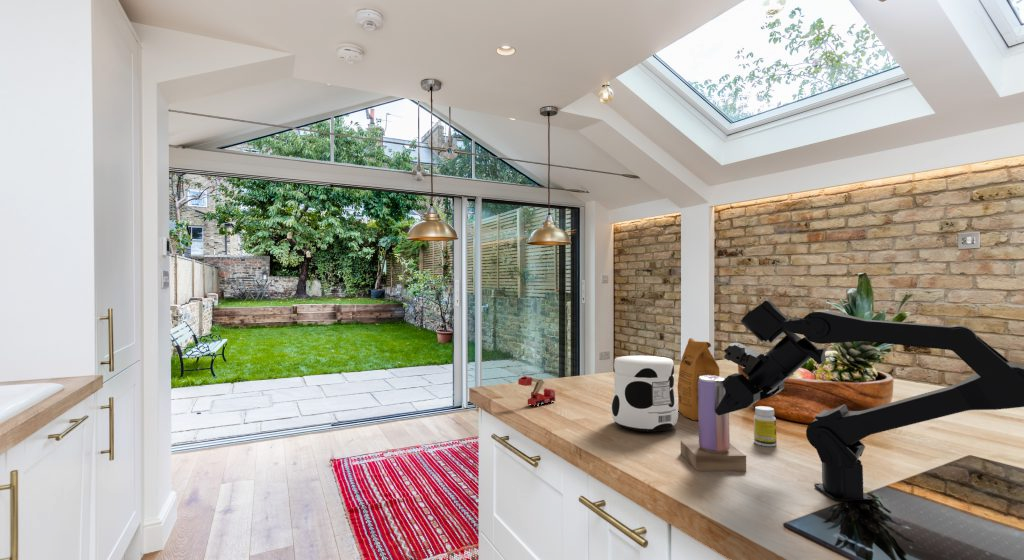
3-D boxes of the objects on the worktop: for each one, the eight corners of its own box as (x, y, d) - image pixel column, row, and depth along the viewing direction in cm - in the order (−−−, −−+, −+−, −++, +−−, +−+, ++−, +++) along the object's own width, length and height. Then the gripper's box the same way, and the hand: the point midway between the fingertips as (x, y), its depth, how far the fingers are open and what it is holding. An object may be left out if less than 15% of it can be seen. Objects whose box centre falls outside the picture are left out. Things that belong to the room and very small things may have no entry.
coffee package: (705, 410, 146) (704, 337, 146) (725, 421, 133) (723, 341, 134) (673, 410, 145) (672, 337, 146) (689, 422, 133) (688, 342, 133)
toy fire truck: (556, 402, 157) (556, 373, 157) (525, 410, 148) (525, 378, 148) (549, 401, 159) (549, 371, 160) (518, 408, 151) (517, 377, 151)
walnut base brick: (746, 470, 97) (746, 455, 97) (696, 470, 98) (696, 455, 98) (726, 453, 107) (725, 440, 107) (680, 453, 108) (680, 440, 108)
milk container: (623, 415, 141) (622, 353, 141) (684, 423, 132) (683, 357, 132) (602, 430, 126) (601, 361, 126) (670, 440, 117) (668, 366, 117)
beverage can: (700, 453, 99) (699, 380, 100) (697, 444, 105) (696, 375, 105) (732, 455, 98) (730, 381, 98) (727, 446, 103) (725, 376, 104)
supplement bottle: (779, 447, 111) (778, 411, 111) (757, 446, 112) (756, 410, 112) (772, 441, 116) (772, 405, 116) (751, 440, 117) (750, 405, 117)
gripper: (766, 327, 104) (716, 373, 111) (731, 333, 91) (678, 385, 98) (809, 367, 98) (753, 413, 105) (778, 380, 85) (718, 431, 92)
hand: (726, 409), depth 101 cm, fingers open, 9 cm apart
